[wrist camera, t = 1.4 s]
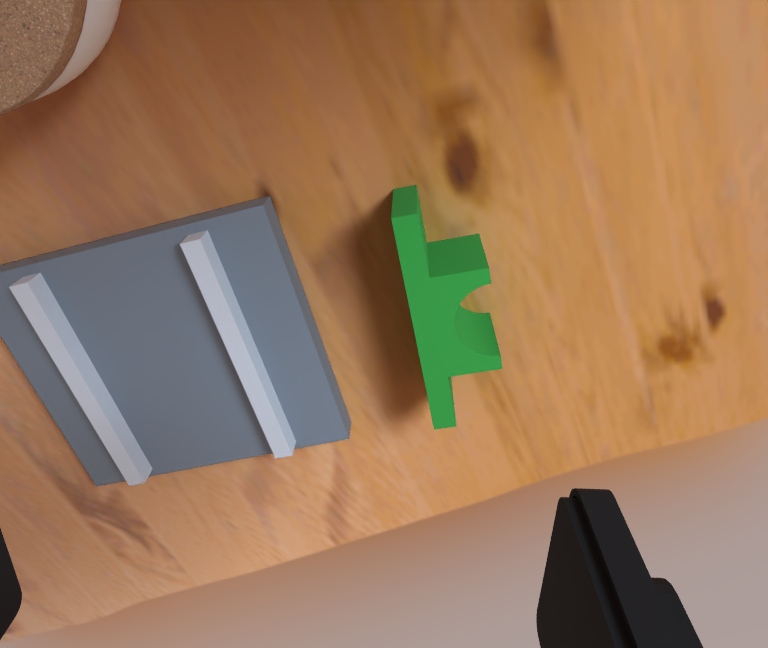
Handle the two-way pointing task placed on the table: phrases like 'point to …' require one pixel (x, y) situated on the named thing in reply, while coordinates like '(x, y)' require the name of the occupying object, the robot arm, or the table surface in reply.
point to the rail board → (174, 345)
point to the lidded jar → (49, 44)
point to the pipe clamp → (443, 304)
